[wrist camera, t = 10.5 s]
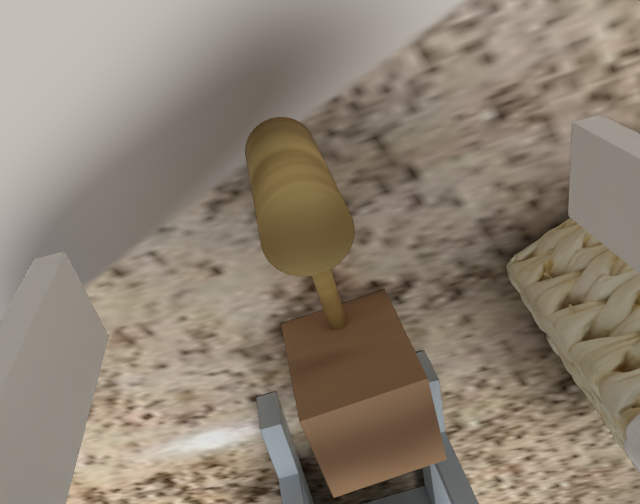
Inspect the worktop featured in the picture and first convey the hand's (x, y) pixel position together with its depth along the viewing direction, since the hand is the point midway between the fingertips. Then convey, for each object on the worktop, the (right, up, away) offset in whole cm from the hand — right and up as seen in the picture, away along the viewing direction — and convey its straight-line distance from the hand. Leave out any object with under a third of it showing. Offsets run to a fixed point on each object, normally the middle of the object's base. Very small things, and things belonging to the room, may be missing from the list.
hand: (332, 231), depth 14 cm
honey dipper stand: (0, -1, +15) cm, 15 cm away
